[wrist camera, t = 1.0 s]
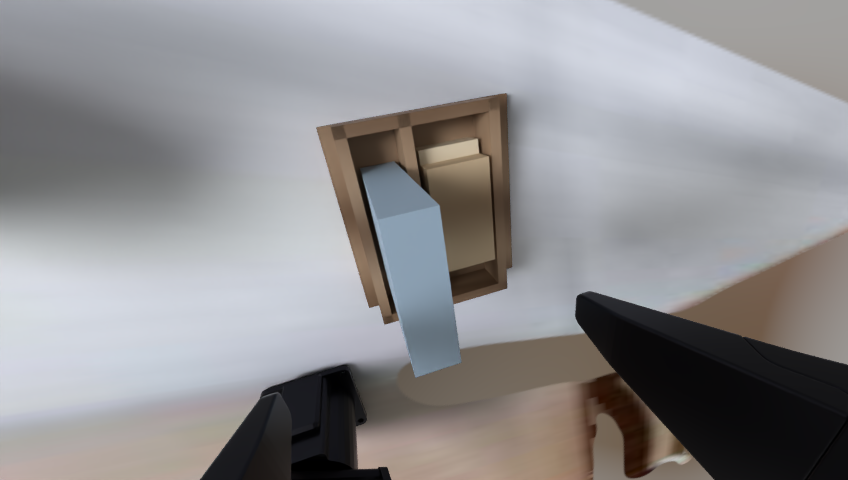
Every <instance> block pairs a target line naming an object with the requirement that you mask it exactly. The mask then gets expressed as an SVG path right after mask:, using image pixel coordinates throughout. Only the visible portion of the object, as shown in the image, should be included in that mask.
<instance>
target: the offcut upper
mask: <svg viewBox="0 0 848 480" xmlns="http://www.w3.org/2000/svg"><path fill="white" fill-rule="evenodd" d="M421 171H422V178H423V184H424V190H425V192H426V193H427V194H428V195H429V196H430V197H431V198H432V199H434V200H435V201H436V202H437V203H438V204H439V206H440V213H441V220H442V227H443V234H444V241H445V249H446V256H447V263H448V270H449V272H451V271H454V270H458V269H462V268H465V267H469V266H473V265H476V264H480V263H483V262H487V261H491V260H494V259H495V250H494V233H493V216H492V200H491V183H490V166H489V156H486V155H483V154H480V153H478V154H473V155H468V156H464V157H459V158H454V159H450V160H445V161H440V162H436V163H431V164H426V165H421Z"/></svg>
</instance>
